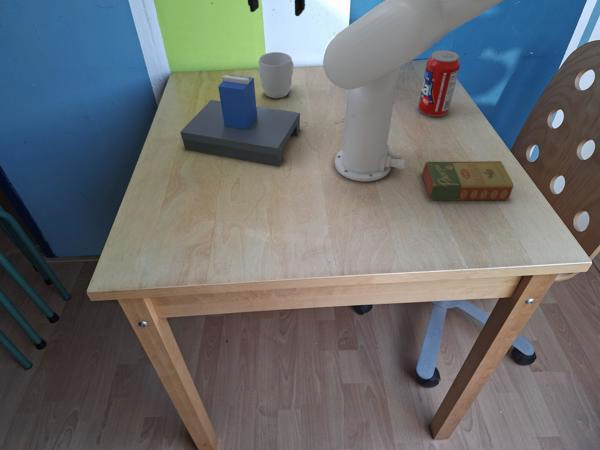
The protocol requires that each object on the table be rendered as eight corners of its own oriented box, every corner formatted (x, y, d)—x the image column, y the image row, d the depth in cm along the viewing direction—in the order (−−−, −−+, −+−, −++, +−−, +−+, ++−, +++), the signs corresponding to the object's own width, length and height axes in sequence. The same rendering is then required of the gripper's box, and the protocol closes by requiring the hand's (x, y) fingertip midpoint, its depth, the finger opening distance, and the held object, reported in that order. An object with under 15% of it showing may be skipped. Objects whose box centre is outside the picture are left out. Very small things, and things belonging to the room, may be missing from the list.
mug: (281, 103, 117) (279, 68, 110) (255, 96, 120) (251, 61, 113) (305, 85, 125) (304, 51, 118) (279, 78, 128) (278, 45, 121)
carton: (508, 201, 86) (515, 185, 83) (428, 201, 87) (433, 184, 84) (495, 176, 92) (501, 159, 89) (421, 175, 93) (425, 159, 90)
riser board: (300, 130, 107) (299, 112, 103) (278, 166, 96) (277, 148, 92) (213, 117, 112) (210, 99, 109) (184, 149, 101) (180, 131, 98)
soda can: (447, 120, 109) (462, 63, 99) (416, 116, 111) (427, 60, 100) (448, 106, 115) (462, 50, 104) (418, 102, 116) (429, 47, 106)
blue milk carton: (257, 117, 102) (253, 73, 94) (247, 130, 98) (242, 85, 90) (234, 114, 103) (228, 70, 96) (224, 126, 99) (217, 81, 92)
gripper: (217, -90, 74) (230, 14, 86) (312, -87, 70) (311, 22, 82) (235, -96, 79) (244, 3, 91) (324, -94, 75) (322, 9, 87)
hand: (276, 12), depth 87 cm, fingers open, 9 cm apart
